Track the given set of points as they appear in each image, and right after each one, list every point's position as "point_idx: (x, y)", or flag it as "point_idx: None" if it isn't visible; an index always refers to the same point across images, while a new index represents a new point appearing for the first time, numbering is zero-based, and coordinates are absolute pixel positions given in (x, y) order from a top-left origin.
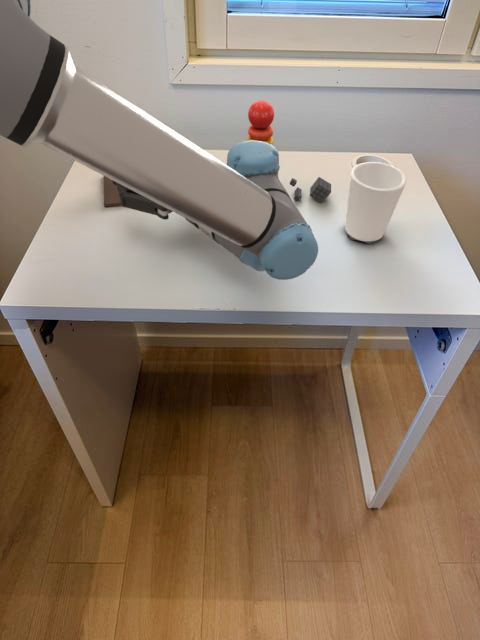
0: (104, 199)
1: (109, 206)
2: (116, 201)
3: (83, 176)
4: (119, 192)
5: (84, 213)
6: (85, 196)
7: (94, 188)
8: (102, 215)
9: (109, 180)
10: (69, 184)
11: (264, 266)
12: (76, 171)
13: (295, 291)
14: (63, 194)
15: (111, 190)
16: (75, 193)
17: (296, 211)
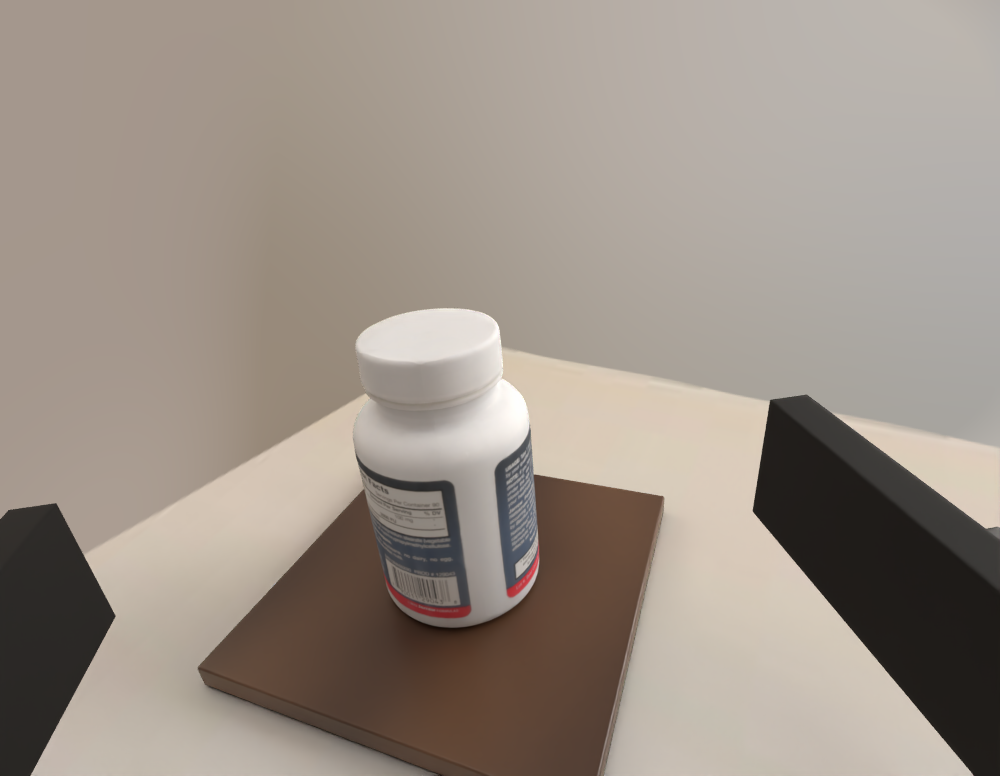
0: (240, 624)
1: (227, 692)
2: (275, 676)
3: (336, 439)
4: (358, 598)
5: None
6: (224, 550)
7: (307, 514)
8: (112, 768)
9: None
10: (252, 461)
11: None
12: (338, 412)
13: None
14: (172, 505)
15: (337, 565)
16: (213, 516)
17: None
